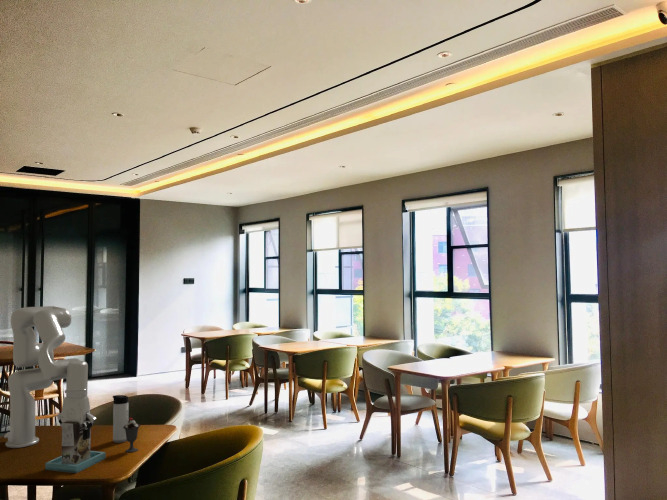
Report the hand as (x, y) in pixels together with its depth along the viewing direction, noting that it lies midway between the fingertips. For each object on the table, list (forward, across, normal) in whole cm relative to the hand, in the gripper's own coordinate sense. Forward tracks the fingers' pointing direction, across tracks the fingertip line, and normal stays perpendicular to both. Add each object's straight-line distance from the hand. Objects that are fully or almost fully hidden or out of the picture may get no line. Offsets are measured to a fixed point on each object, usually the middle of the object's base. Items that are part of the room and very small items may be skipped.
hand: (75, 437), depth 212 cm
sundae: (+10, +12, +19) cm, 24 cm away
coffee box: (+9, 0, 0) cm, 9 cm away
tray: (+10, +1, 0) cm, 10 cm away
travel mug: (+10, -1, +29) cm, 31 cm away
